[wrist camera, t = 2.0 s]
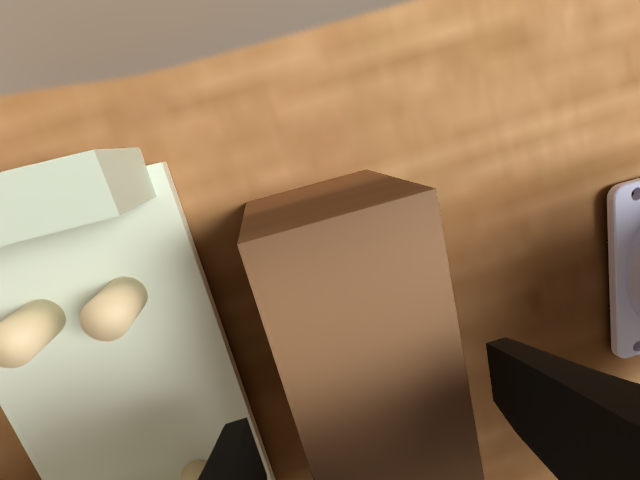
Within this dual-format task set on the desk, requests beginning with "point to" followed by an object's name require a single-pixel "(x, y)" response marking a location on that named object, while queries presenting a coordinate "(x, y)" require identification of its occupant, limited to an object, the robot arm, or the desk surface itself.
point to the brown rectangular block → (364, 327)
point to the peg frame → (110, 324)
